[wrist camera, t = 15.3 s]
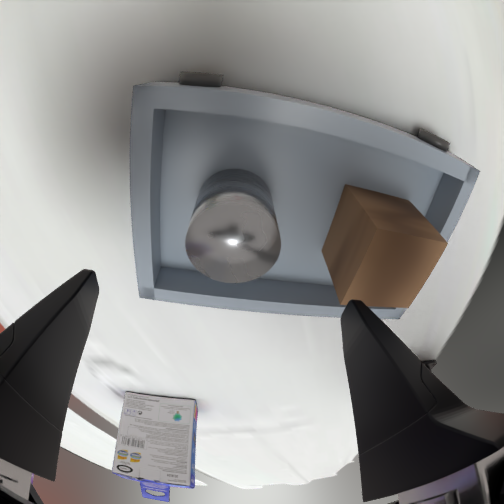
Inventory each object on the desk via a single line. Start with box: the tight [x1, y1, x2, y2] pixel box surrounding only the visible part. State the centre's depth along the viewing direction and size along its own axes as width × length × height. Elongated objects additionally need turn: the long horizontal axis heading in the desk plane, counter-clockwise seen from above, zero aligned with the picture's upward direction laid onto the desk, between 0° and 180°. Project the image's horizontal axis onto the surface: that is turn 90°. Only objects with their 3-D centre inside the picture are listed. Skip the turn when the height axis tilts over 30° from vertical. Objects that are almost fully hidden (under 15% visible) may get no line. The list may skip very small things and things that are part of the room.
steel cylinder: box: [185, 169, 281, 283], centre depth 13 cm, size 4×4×4 cm
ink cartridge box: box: [112, 392, 198, 502], centre depth 28 cm, size 10×6×14 cm, turn 87°
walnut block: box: [321, 184, 448, 308], centre depth 14 cm, size 4×4×4 cm
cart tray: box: [130, 72, 480, 319], centre depth 15 cm, size 18×13×3 cm
